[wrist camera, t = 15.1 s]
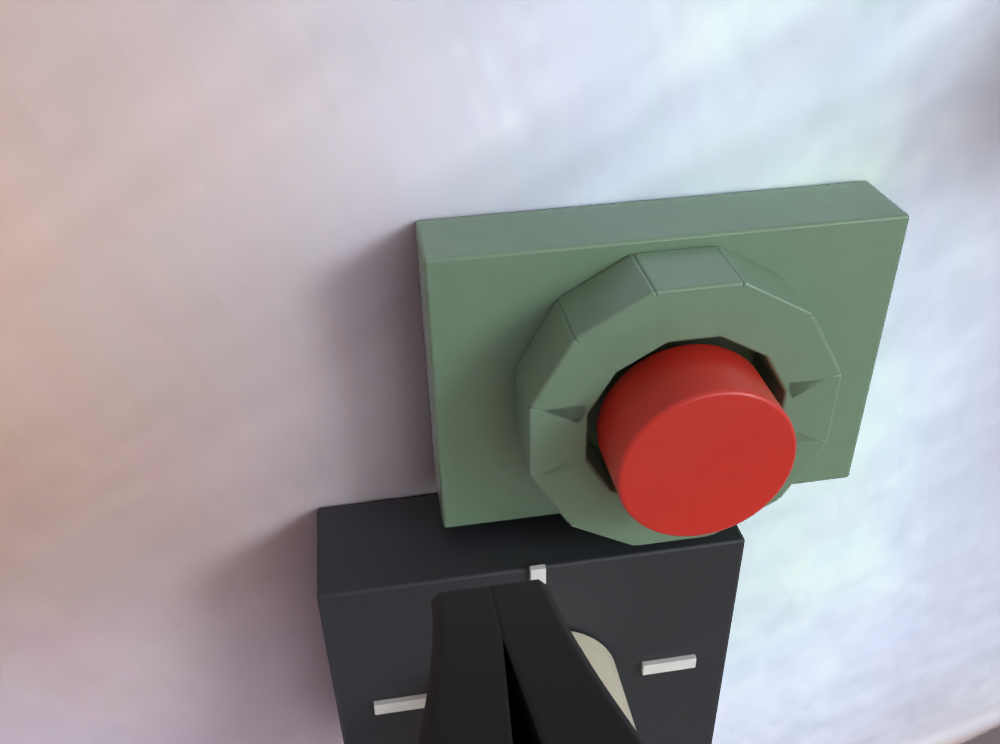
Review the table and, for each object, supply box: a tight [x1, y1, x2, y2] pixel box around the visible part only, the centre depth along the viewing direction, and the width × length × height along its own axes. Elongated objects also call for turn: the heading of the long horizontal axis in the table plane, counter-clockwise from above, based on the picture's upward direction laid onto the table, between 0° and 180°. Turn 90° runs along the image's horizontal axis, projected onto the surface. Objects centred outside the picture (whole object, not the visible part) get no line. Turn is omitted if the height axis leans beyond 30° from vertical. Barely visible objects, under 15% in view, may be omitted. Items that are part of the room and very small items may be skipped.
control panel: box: [317, 494, 745, 744], centre depth 25 cm, size 10×8×3 cm
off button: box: [596, 344, 796, 537], centre depth 19 cm, size 4×4×2 cm
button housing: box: [415, 181, 909, 546], centre depth 21 cm, size 10×7×4 cm
